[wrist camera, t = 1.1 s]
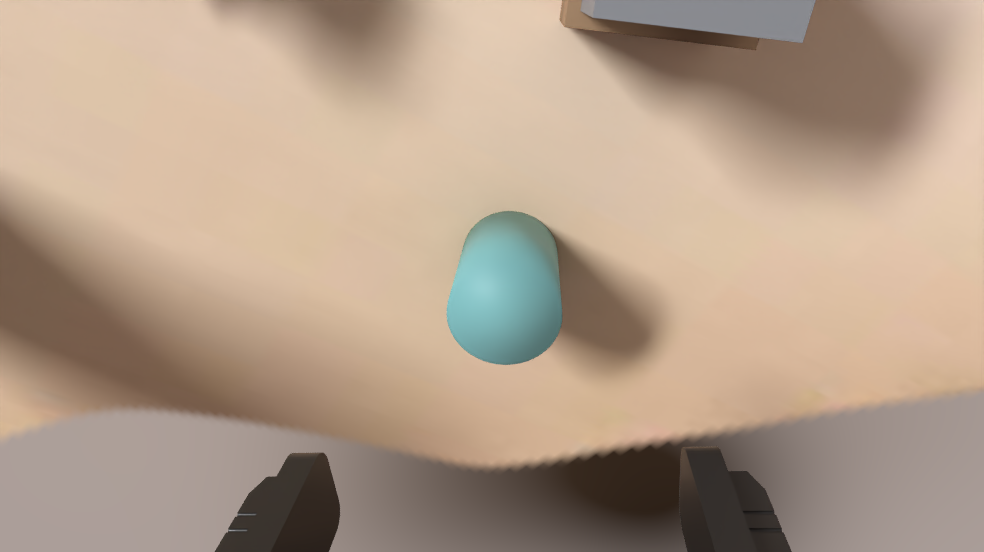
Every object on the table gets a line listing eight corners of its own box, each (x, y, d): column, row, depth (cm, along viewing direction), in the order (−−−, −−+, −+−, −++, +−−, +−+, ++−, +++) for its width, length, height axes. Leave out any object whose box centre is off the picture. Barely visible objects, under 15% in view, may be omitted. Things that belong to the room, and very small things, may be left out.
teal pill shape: (458, 292, 31) (442, 357, 26) (467, 205, 29) (451, 256, 24) (550, 303, 31) (552, 371, 25) (564, 217, 29) (570, 271, 23)
